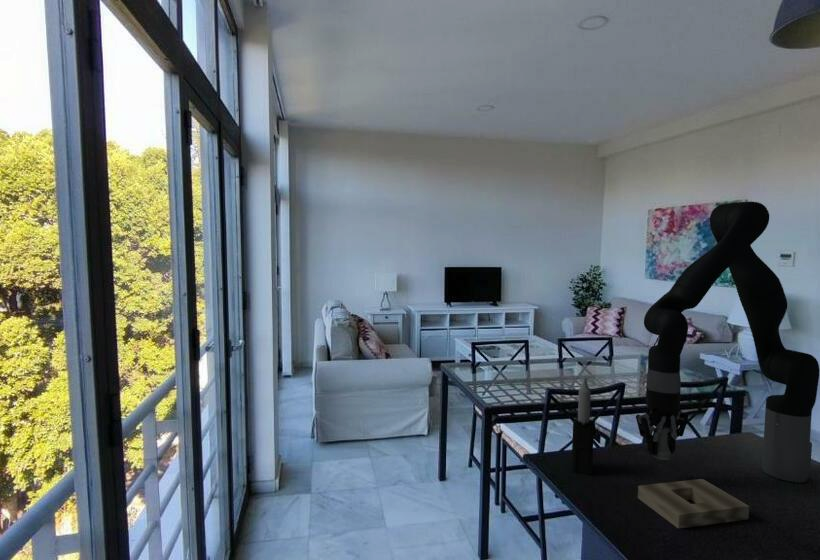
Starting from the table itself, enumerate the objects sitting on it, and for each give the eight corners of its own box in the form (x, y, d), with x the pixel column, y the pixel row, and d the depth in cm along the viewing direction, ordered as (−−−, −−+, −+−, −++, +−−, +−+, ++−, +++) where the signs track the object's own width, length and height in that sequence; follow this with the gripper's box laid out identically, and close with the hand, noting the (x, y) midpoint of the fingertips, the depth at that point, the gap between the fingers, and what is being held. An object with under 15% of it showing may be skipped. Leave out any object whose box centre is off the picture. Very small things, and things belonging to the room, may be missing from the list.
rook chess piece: (674, 461, 110) (675, 430, 110) (654, 459, 111) (655, 428, 110) (667, 453, 114) (668, 423, 114) (648, 452, 115) (649, 422, 115)
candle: (592, 467, 120) (596, 376, 118) (591, 476, 115) (595, 381, 114) (572, 463, 122) (575, 374, 120) (570, 471, 117) (574, 378, 116)
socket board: (701, 490, 108) (702, 478, 108) (748, 519, 97) (749, 506, 97) (637, 497, 105) (638, 485, 105) (678, 528, 93) (679, 514, 93)
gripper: (675, 381, 117) (673, 444, 118) (628, 384, 114) (626, 449, 115) (699, 389, 109) (697, 457, 110) (649, 393, 106) (647, 462, 107)
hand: (661, 452), depth 113 cm, fingers closed on rook chess piece, 4 cm apart
